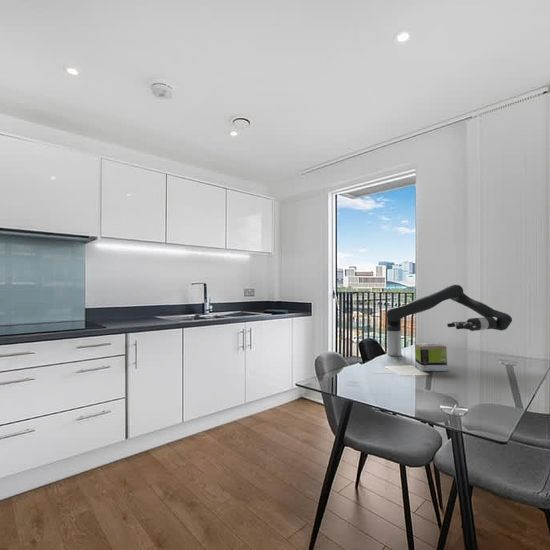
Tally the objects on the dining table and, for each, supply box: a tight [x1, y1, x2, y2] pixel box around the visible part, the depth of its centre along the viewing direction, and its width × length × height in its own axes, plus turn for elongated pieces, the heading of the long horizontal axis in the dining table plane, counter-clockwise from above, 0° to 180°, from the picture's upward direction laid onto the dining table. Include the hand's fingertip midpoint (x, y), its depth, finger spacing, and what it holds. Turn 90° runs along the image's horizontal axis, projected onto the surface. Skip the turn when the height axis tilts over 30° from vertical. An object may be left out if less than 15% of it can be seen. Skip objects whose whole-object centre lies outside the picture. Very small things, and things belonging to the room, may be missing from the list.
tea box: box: [414, 342, 448, 372], centre depth 197 cm, size 15×10×15 cm, turn 84°
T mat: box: [384, 364, 430, 377], centre depth 195 cm, size 20×30×1 cm, turn 96°
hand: (452, 326), depth 198 cm, fingers open, 8 cm apart
